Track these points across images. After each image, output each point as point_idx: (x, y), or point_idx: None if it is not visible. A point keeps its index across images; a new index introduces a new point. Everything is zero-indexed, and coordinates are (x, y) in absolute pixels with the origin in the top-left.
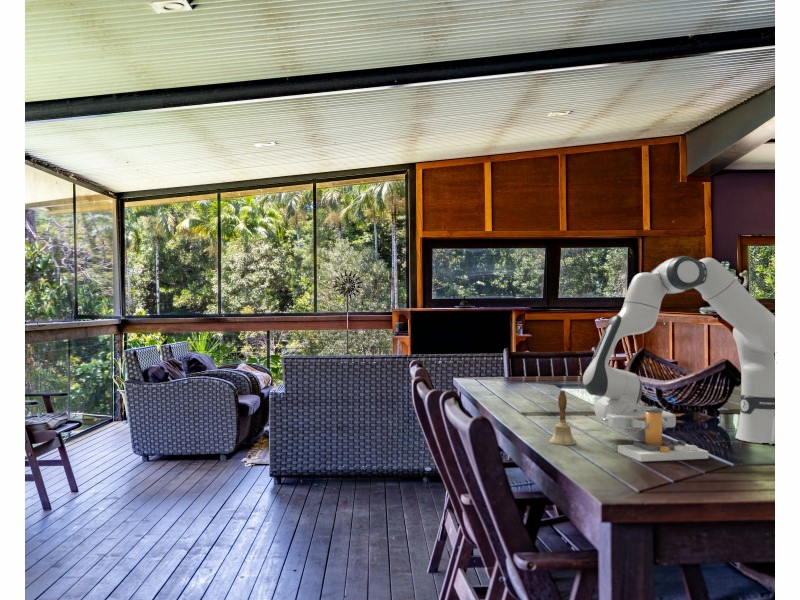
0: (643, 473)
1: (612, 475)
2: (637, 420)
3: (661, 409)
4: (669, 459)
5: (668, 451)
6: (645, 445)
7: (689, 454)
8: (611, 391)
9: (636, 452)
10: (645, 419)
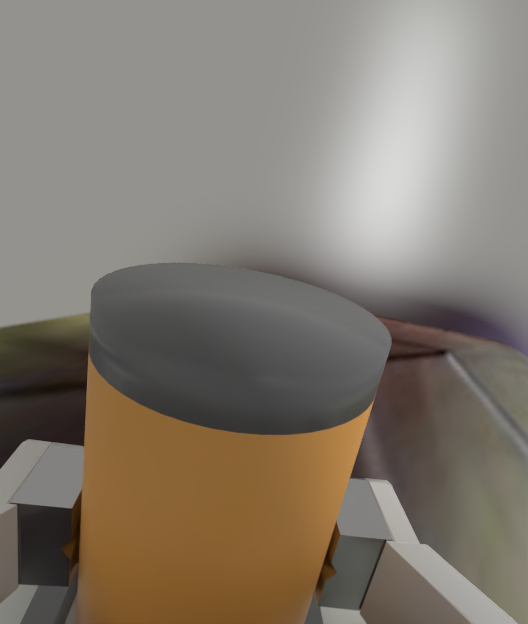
0: (411, 420)
1: (516, 431)
2: (471, 596)
3: (150, 268)
4: None
5: None
6: (317, 618)
7: None
8: None
9: None
10: (335, 523)
